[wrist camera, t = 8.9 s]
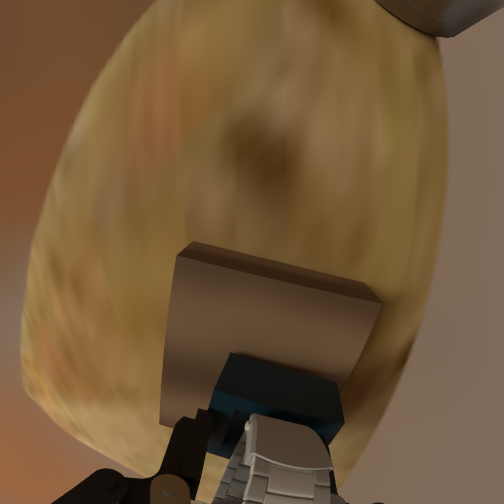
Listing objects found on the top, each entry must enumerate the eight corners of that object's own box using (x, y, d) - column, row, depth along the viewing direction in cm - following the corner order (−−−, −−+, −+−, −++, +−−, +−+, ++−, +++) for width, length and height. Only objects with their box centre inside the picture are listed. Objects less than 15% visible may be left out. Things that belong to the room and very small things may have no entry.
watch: (205, 430, 14) (137, 579, 3) (240, 321, 12) (121, 555, 2) (293, 454, 14) (277, 608, 3) (353, 353, 12) (412, 577, 1)
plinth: (192, 241, 15) (176, 255, 12) (363, 282, 15) (382, 303, 12) (170, 396, 18) (159, 424, 15) (300, 422, 18) (303, 451, 15)
